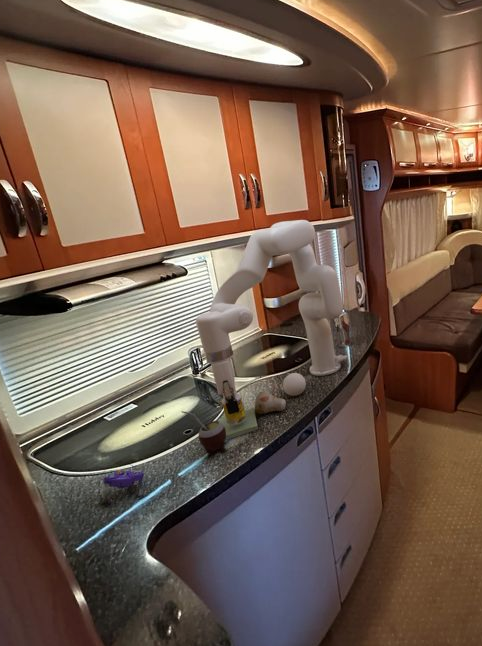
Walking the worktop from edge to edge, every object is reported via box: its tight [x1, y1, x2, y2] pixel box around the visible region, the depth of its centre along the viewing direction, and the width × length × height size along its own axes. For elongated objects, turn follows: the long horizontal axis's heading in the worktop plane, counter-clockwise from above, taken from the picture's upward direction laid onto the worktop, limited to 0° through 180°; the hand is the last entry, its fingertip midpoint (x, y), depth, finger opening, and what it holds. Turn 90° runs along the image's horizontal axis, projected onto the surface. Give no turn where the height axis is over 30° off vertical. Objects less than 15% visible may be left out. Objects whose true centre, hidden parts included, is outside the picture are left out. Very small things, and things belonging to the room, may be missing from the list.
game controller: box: [98, 462, 145, 505], centre depth 95 cm, size 10×8×10 cm
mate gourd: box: [181, 410, 227, 458], centre depth 105 cm, size 8×8×15 cm
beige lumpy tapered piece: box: [254, 391, 287, 415], centre depth 123 cm, size 8×10×10 cm
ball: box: [282, 372, 307, 397], centre depth 132 cm, size 8×8×8 cm
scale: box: [218, 407, 259, 441], centre depth 118 cm, size 11×13×3 cm
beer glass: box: [333, 311, 352, 348], centre depth 171 cm, size 7×7×15 cm
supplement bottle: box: [221, 388, 246, 425], centre depth 114 cm, size 6×6×10 cm
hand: (233, 407), depth 114 cm, fingers closed on supplement bottle, 5 cm apart
